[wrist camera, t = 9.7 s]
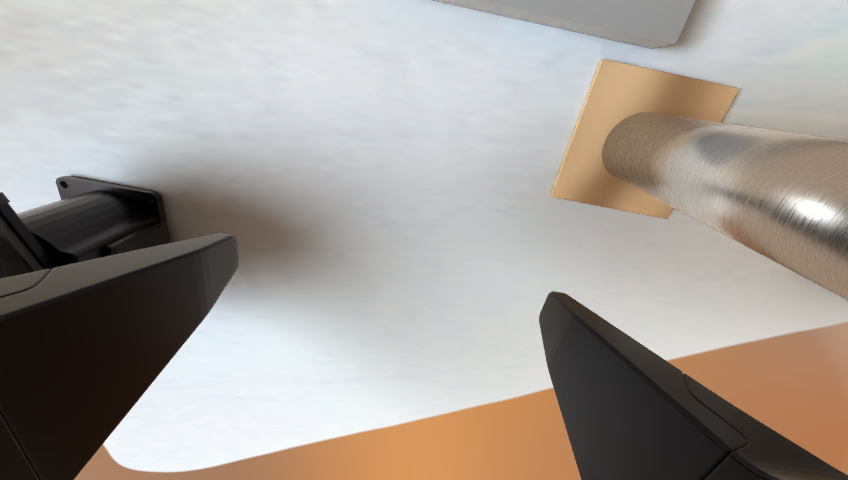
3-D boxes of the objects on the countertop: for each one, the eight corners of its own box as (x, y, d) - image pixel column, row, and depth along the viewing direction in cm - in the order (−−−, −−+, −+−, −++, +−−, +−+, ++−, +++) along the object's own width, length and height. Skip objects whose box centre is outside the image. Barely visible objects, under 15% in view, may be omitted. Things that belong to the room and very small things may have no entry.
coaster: (549, 195, 21) (551, 196, 21) (600, 59, 18) (603, 59, 18) (663, 216, 22) (667, 218, 22) (733, 88, 18) (739, 88, 18)
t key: (598, 198, 21) (890, 407, 8) (605, 100, 18) (1067, 150, 5) (663, 189, 21) (1091, 392, 7) (680, 87, 18) (1397, 105, 5)
